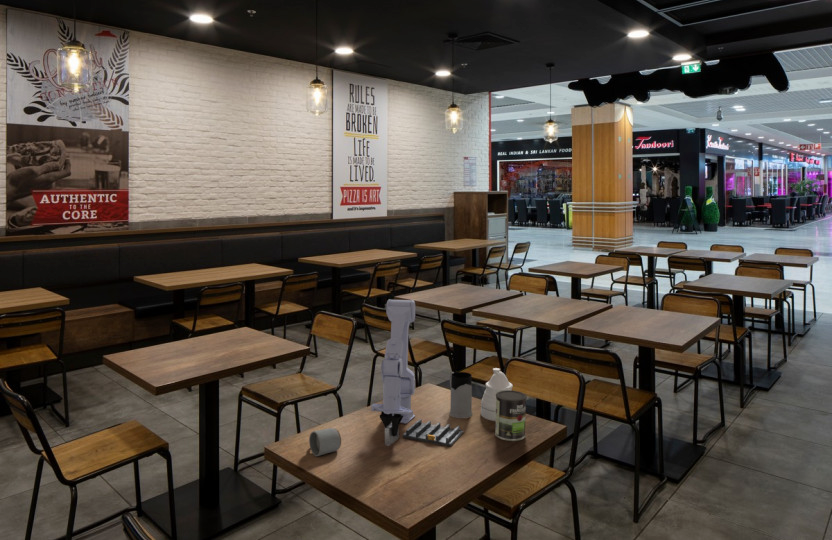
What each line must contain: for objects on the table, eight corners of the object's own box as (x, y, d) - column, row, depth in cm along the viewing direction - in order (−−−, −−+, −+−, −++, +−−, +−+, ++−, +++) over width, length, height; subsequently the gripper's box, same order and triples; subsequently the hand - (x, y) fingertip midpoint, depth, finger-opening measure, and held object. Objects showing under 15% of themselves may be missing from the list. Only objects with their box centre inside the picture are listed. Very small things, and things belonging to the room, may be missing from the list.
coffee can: (531, 437, 194) (533, 397, 192) (506, 443, 189) (507, 402, 187) (513, 426, 203) (514, 388, 201) (488, 432, 198) (489, 392, 196)
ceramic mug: (343, 452, 182) (342, 429, 181) (320, 460, 177) (319, 436, 176) (326, 442, 190) (325, 419, 189) (304, 448, 185) (303, 425, 184)
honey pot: (503, 424, 205) (505, 375, 203) (474, 415, 214) (474, 368, 211) (522, 414, 215) (523, 367, 213) (493, 405, 223) (494, 360, 221)
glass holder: (455, 419, 209) (455, 379, 207) (439, 406, 222) (440, 368, 221) (476, 416, 213) (477, 377, 211) (460, 403, 226) (460, 366, 224)
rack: (402, 437, 194) (402, 430, 193) (417, 424, 205) (417, 417, 204) (450, 446, 187) (450, 439, 186) (463, 433, 197) (463, 426, 197)
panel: (384, 445, 188) (384, 427, 187) (394, 437, 194) (394, 420, 193) (389, 446, 187) (389, 428, 186) (398, 438, 193) (398, 421, 192)
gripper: (366, 395, 188) (366, 435, 190) (406, 402, 182) (406, 443, 183) (376, 388, 194) (377, 427, 196) (415, 395, 188) (415, 434, 190)
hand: (391, 434), depth 190 cm, fingers closed
